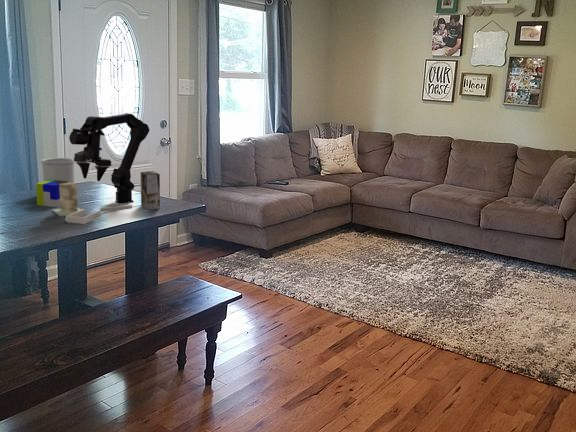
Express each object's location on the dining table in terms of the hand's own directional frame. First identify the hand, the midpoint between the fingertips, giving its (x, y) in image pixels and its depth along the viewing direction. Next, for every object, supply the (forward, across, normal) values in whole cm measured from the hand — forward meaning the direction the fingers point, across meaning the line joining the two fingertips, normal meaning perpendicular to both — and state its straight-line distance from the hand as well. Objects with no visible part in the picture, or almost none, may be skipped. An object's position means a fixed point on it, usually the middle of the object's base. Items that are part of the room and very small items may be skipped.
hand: (91, 179), depth 267 cm
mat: (+14, 0, -12) cm, 18 cm away
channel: (+14, +14, -15) cm, 25 cm away
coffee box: (+11, +19, +19) cm, 29 cm away
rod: (+12, +11, +6) cm, 18 cm away
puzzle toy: (+14, -18, -6) cm, 23 cm away
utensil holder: (+12, -31, +7) cm, 34 cm away
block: (+13, 0, -12) cm, 18 cm away
